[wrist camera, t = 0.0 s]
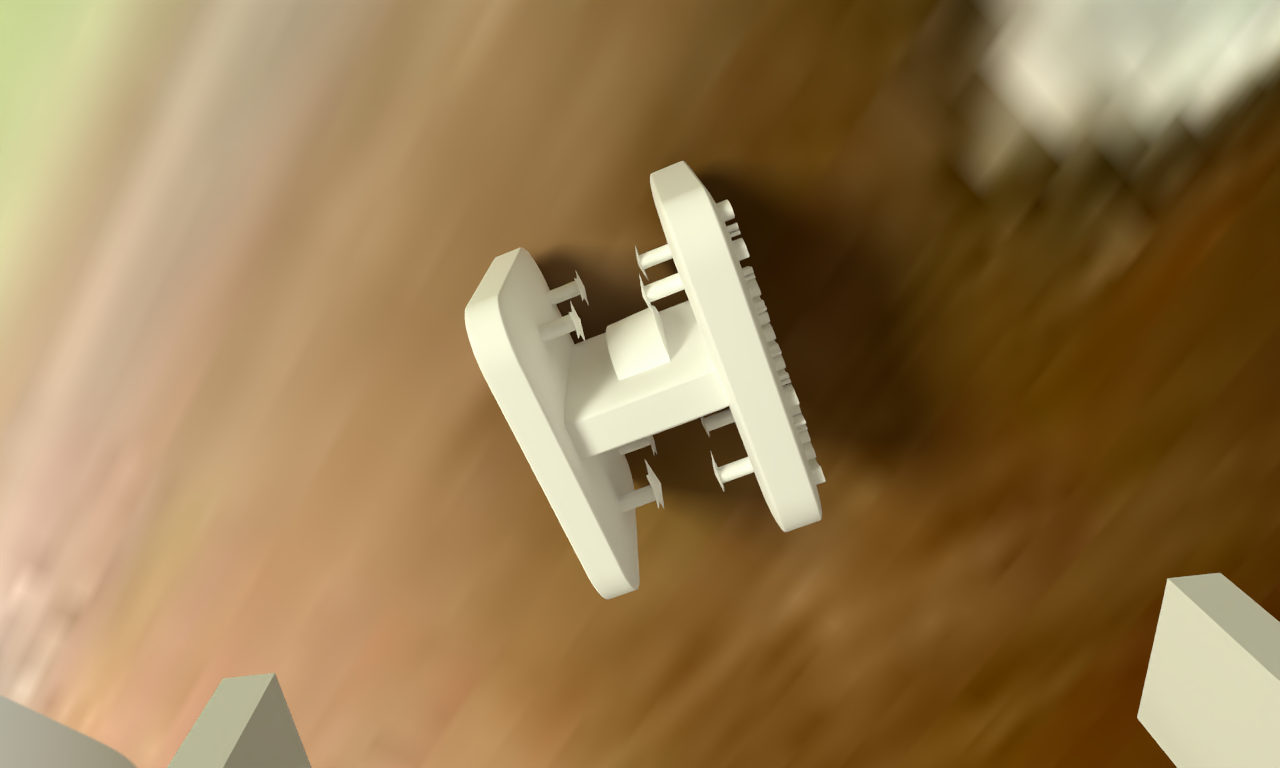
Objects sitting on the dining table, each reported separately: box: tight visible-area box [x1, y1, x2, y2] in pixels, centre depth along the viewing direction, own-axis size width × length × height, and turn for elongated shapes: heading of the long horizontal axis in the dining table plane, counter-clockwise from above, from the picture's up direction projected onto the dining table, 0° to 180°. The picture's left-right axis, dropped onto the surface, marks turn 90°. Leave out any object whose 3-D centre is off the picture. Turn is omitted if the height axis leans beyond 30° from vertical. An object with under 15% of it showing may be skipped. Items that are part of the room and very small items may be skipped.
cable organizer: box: [465, 161, 826, 599], centre depth 33 cm, size 15×11×12 cm
